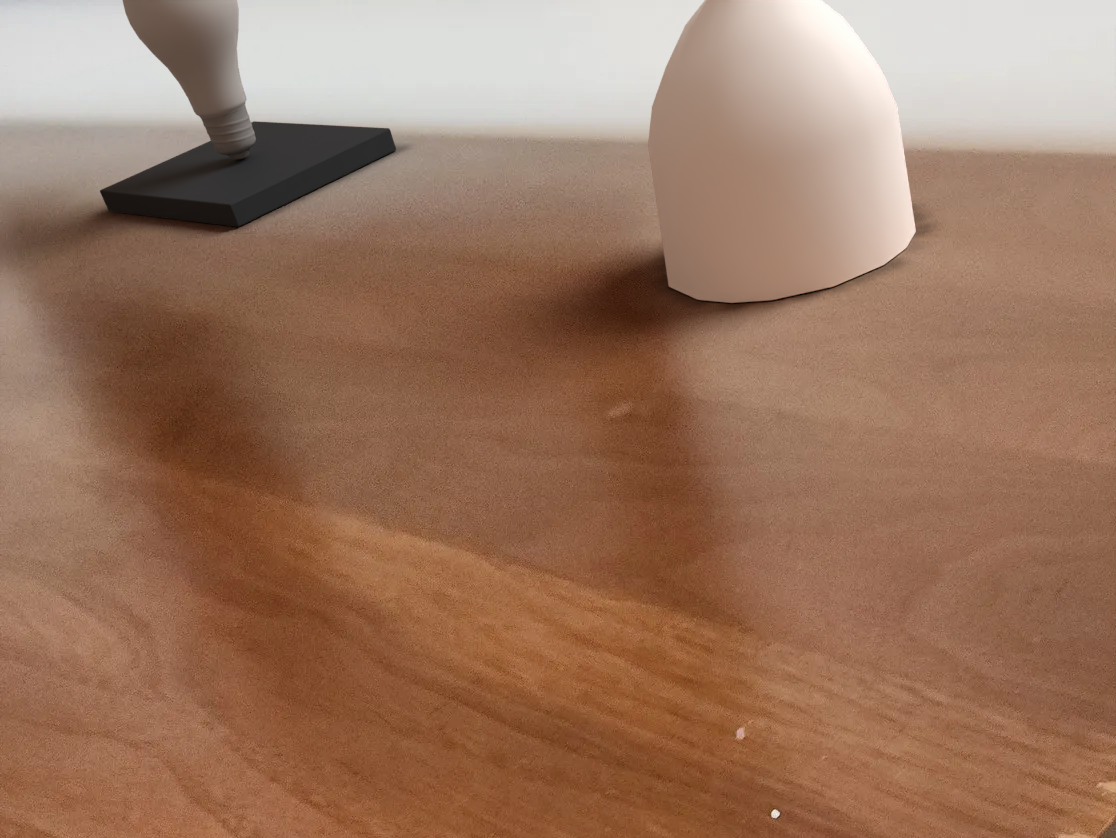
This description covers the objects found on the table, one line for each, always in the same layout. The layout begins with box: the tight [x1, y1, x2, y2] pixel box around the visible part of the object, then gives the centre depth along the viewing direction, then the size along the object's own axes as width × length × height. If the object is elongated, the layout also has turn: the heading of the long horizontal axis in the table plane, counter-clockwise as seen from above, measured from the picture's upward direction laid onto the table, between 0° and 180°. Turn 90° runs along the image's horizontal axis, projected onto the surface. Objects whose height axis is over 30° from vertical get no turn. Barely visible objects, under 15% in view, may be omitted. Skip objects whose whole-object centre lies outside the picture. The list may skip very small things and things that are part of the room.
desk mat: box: [99, 120, 397, 228], centre depth 86 cm, size 14×12×1 cm
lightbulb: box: [122, 0, 256, 160], centre depth 82 cm, size 6×6×11 cm
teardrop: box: [647, 0, 917, 304], centre depth 58 cm, size 11×11×12 cm
